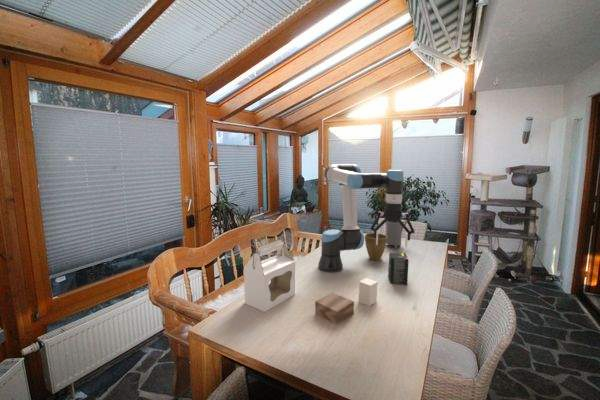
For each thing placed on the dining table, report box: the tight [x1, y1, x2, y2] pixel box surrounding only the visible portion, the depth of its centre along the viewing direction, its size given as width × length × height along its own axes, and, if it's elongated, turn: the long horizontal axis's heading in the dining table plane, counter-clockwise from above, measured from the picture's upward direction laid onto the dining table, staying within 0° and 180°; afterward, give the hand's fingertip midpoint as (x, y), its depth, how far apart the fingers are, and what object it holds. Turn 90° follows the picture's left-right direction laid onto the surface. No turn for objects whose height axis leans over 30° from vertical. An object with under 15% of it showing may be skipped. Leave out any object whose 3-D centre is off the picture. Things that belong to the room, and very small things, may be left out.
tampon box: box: [387, 251, 409, 286], centre depth 161 cm, size 11×9×15 cm
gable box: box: [243, 239, 296, 313], centre depth 138 cm, size 22×13×28 cm, turn 142°
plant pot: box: [364, 232, 387, 261], centre depth 196 cm, size 15×15×16 cm
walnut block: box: [314, 292, 355, 325], centre depth 126 cm, size 12×12×6 cm
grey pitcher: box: [385, 216, 408, 250], centre depth 223 cm, size 19×15×25 cm
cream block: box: [358, 277, 378, 307], centre depth 137 cm, size 6×6×10 cm
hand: (391, 245), depth 140 cm, fingers open, 13 cm apart
